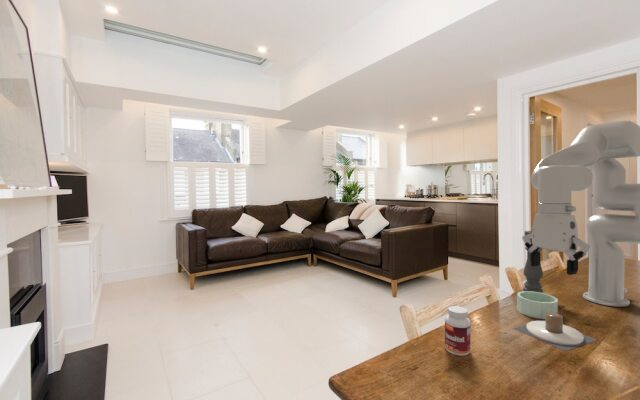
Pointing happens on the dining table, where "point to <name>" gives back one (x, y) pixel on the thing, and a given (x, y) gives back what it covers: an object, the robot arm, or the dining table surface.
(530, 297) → the bowl
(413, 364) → the dining table surface
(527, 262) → the candle holder
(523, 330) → the mat
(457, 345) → the pill bottle
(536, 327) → the lid
